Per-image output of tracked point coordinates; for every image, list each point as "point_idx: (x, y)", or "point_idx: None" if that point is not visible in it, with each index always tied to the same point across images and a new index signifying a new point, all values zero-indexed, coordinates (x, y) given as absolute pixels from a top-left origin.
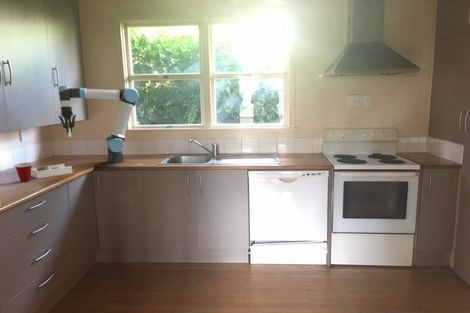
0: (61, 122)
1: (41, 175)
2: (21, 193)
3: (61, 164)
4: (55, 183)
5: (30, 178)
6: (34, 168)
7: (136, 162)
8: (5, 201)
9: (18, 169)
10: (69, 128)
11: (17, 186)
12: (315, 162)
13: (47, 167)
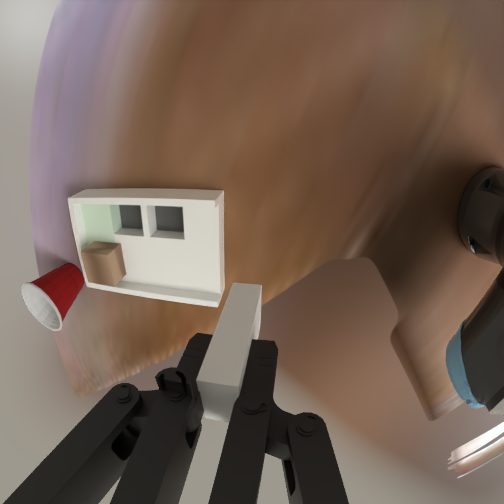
0: (50, 464)
1: None
2: (84, 372)
3: (198, 207)
4: (142, 367)
5: (81, 287)
6: (81, 203)
7: None
8: (72, 385)
9: (39, 306)
10: (224, 416)
11: (65, 316)
12: (481, 461)
13: (116, 284)
